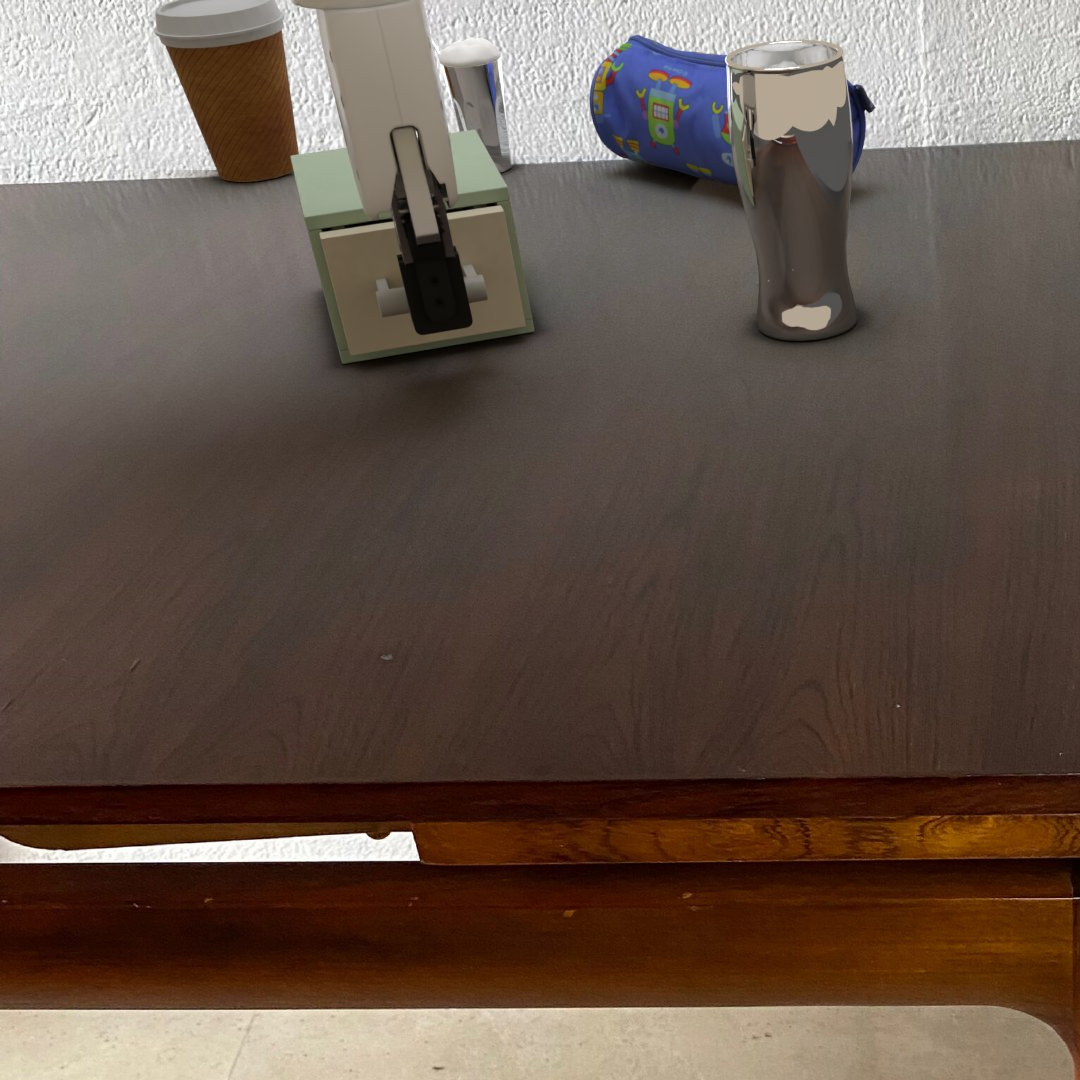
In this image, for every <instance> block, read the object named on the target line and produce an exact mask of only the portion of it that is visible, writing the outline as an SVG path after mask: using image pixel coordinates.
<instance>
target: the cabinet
mask: <svg viewBox="0 0 1080 1080" xmlns="http://www.w3.org/2000/svg"><path fill="white" fill-rule="evenodd" d="M449 135H450V142H451V148H452V155H453V162H454V169H455V176H456V183H457V191H458V201H457V202H456V204H455V205H454V206H453V207H452V208H451V209H455V208H462V207H468V206H475V205H482V204H486V205H487V207H492V206H499V205H501V207H502V208H503V210H504V213H505V219H506V224H507V229H508V234H509V240H510V245H511V250H512V255H513V261H514V266H515V271H516V276H517V282H518V287H519V292H520V297H521V303H522V308H523V313H524V318H525V324H526V326H525V327H520V328H514V329H508V330H502V331H496V332H490V333H484V334H478V335H472V336H466V337H460V338H454V339H449V340H443V341H437V342H431V343H425V344H419V345H413V346H407V347H401V348H395V349H389V350H383V351H377V352H371V353H365V354H359V355H353V356H351V355H350V352H349V348H348V344H347V340H346V336H345V332H344V328H343V324H342V320H341V317H340V313H339V309H338V305H337V301H336V297H335V293H334V289H333V285H332V282H331V278H330V274H329V270H328V266H327V262H326V258H325V254H324V251H323V247H322V243H321V239H320V235H319V233H321V232H328V231H331V228H330V227H336V226H343V225H350V224H356V223H363V222H369V221H376V220H373V219H372V218H370V217H369V216H367V215H366V214H365V212H364V210H363V207H362V204H361V200H360V197H359V194H358V190H357V186H356V183H355V179H354V175H353V171H352V167H351V163H350V159H349V155H348V151H347V147H341V148H335V149H328V150H320V151H314V152H306V153H300V154H299V155H292V156H291V162H292V166H293V175H294V179H295V183H296V188H297V193H298V197H299V201H300V207H301V210H302V215H303V220H304V223H305V227H306V230H307V235H308V239H309V242H310V247H311V250H312V254H313V258H314V262H315V266H316V269H317V272H318V276H319V280H320V284H321V288H322V292H323V296H324V299H325V304H326V308H327V311H328V314H329V315H328V316H329V319H330V323H331V326H332V330H333V335H334V339H335V342H336V346H337V350H338V354H339V357H340V362H341V364H343V365H345V364H351V363H356V362H364V361H368V360H369V361H370V360H374V359H380V358H381V359H382V358H386V357H392V356H393V357H394V356H398V355H404V354H411V353H417V352H422V351H429V350H433V349H439V348H440V349H441V348H445V347H446V348H447V347H451V346H456V345H462V344H469V343H475V342H481V341H487V340H493V339H498V338H505V337H511V336H516V335H523V334H528V333H534V332H535V326H534V320H533V314H532V309H531V303H530V299H529V293H528V289H527V282H526V276H525V272H524V266H523V261H522V257H521V256H522V255H521V250H520V245H519V240H518V235H517V228H516V223H515V217H514V214H513V213H514V212H513V208H512V203H511V199H510V198H511V197H510V192H509V187H508V185H507V183H506V182H505V180H504V178H503V176H502V173H499V171H498V169H497V167H496V166H495V164H494V162H493V160H492V158H491V157H490V155H489V153H488V151H487V150H486V148H485V146H484V144H483V142H482V141H481V139H480V137H479V135H478V134H477V132H476V130H468V131H461V132H460V131H453V132H449ZM422 159H423V158H422ZM444 203H445V205H446V210H449V208H448V206H447V203H446V201H445V202H444ZM378 214H379V219H380V220H383V219H389V218H392V216H391V211H390V212H384V213H378Z"/></svg>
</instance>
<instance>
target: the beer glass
mask: <svg viewBox="0 0 1080 1080" xmlns="http://www.w3.org/2000/svg"><path fill="white" fill-rule="evenodd" d="M726 55H727V56H726V58H725V62H726V76H727V109H728V124H729V137H730V145H731V152H732V159H733V165H734V170H735V174H736V179H737V183H738V186H737V188H738V191H739V196H740V199H741V202H742V205H743V210H744V213H745V217H746V221H747V223H748V227H749V228H748V229H749V231H750V235H751V238H752V243H753V247H754V250H755V256H756V263H757V270H758V271H757V272H758V273H757V274H758V296H757V309H756V326H757V328H758V330H759V331H760V333H762V334H763V335H765V336H766V337H770V338H772V339H776V340H780V341H790V342H809V341H818V340H824V339H828V338H832V337H835V336H838V335H841V334H843V333H845V332H847V331H849V330H851V329H852V328H853V327H854V326H855V325H856V323H857V322H858V310H857V305H856V301H855V297H854V292H853V289H852V285H851V281H850V277H849V270H848V259H847V258H848V256H847V253H848V251H847V249H848V248H847V244H848V243H847V241H848V229H849V217H850V210H851V209H850V208H851V207H850V206H851V197H852V185H853V174H854V172H853V131H852V119H851V109H850V100H849V93H848V85H847V80H848V79H847V73H846V67H845V65H846V64H845V58H844V49H843V47H842V46H840V45H838V44H836V43H833V42H828V41H823V40H814V39H785V40H784V39H783V40H774V41H766V42H759V43H755V44H749V45H746V46H742V47H740V48H736V49H735V50H733V51H730V52H729V53H728V54H726ZM852 173H853V174H852Z"/></svg>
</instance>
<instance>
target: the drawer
mask: <svg viewBox="0 0 1080 1080" xmlns="http://www.w3.org/2000/svg"><path fill="white" fill-rule="evenodd" d="M446 213H447V218H448V223H449V228H450V233H451V237H452V242H453V246H455V247H456V250H457V251H458V254H459V258H460V263H461V267H462V272H463V277H464V282H465V286H466V291H467V296H468V300H469V305H470V310H471V314H472V319H473V323H472V325H471V326H470V327H468V328H463V329H457V330H451V331H445V332H439V333H433V334H427V335H419V334H418V333H417V332H416V331H415V328H414V325H413V322H412V318H411V314H410V310H409V306H408V301H407V297H406V293H405V289H404V284H403V280H402V276H401V272H400V268H399V263H398V259H397V255H399V254H402V253H401V252H400V249H399V245H398V241H397V237H396V232H395V228H394V224H393V220H392V218H389V219H383V220H376V221H369V222H363V223H356V224H350V225H343V226H336V227H330V228H331V231H328V232H321V233H319V235H320V239H321V243H322V247H323V251H324V254H325V258H326V262H327V266H328V270H329V274H330V278H331V282H332V285H333V289H334V293H335V297H336V301H337V305H338V309H339V313H340V317H341V320H342V324H343V328H344V332H345V336H346V340H347V344H348V348H349V352H350V355H351V356H353V355H359V354H365V353H371V352H377V351H383V350H389V349H395V348H401V347H407V346H413V345H419V344H425V343H431V342H437V341H443V340H449V339H454V338H460V337H466V336H472V335H478V334H484V333H490V332H496V331H502V330H508V329H514V328H520V327H525V326H526V324H525V318H524V313H523V308H522V303H521V297H520V292H519V287H518V282H517V276H516V271H515V266H514V261H513V255H512V250H511V245H510V240H509V234H508V229H507V224H506V219H505V213H504V210H503V208H502V207H501V205H499V206H492V207H487V205H486V204H482V205H475V206H468V207H462V208H455V209H449V210H446Z"/></svg>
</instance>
